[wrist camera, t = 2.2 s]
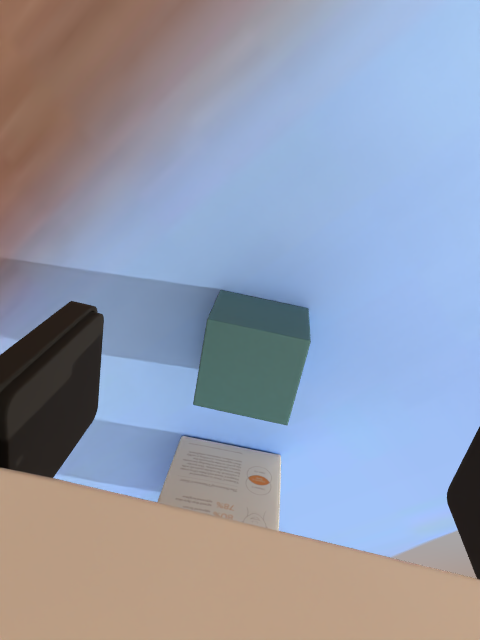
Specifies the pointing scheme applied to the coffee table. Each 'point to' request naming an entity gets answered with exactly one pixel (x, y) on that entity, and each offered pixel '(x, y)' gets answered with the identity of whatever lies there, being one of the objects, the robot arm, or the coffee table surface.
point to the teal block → (252, 357)
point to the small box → (225, 482)
